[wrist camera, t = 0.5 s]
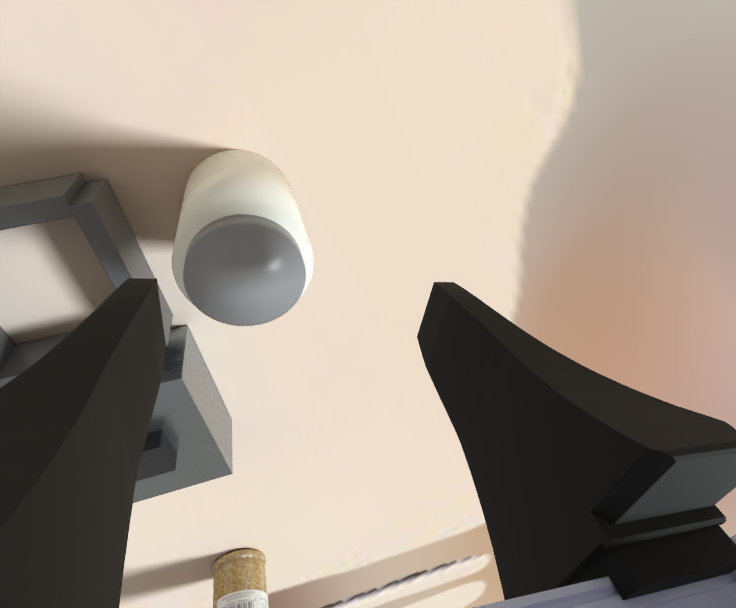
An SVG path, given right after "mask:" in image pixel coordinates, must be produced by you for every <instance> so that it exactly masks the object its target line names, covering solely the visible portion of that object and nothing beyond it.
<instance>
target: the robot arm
mask: <svg viewBox="0 0 736 608" xmlns="http://www.w3.org/2000/svg"><path fill="white" fill-rule="evenodd" d="M417 338H418V341H419V345H420V349H421V352H422V356H423V359H424V362H425V365H426V368H427V370H428V372H429V375H430V377H431V379H432V381H433V383H434V386H435V388H436V390H437V392H438V394H439V396H440V399H441V401H442V403H443V405H444V407H445V409H446V411H447V413H448V416H449V418H450V420H451V422H452V424H453V426H454V428H455V431H456V433H457V435H458V438H459V440H460V443H461V445H462V448H463V451H464V454H465V457H466V460H467V463H468V466H469V469H470V471H471V474H472V478H473V481H474V484H475V487H476V491H477V494H478V497H479V500H480V504H481V507H482V510H483V514H484V517H485V521H486V525H487V529H488V532H489V536H490V540H491V543H492V547H493V551H494V555H495V559H496V564H497V568H498V572H499V576H500V581H501V585H502V589H503V594H504V599H505V600H504V601H500V602H496V603H491V604H487V605H482V606H479V607H474V608H736V535H735V536H732V537H731V538H729V536H728V535H727V534H726V533H725V532H724V531H723V530H722V528H721V527H720V526H719V525H721V524H723V523H724V522H725V521H726V518H725V516H724V515H723V514H722V512H721V511H720V510H719V509H718V508H717V507H716V506H715V504H716V503H717V502H718V501H719V500H721V499H722V498H723V497H724V496H725V495H726V494H728V493H729V492H730V491H732V490H733V489H734V488H735V487H736V430H735V429H734V428H733V427H732V426H730V425H729V424H727V423H726V422H724V421H721V420H718V419H715V418H712V417H709V416H706V415H703V414H700V413H697V412H693V411H691V410H687V409H684V408H681V407H678V406H675V405H672V404H670V403H667V402H664V401H662V400H659V399H657V398H654V397H652V396H649V395H646V394H644V393H641V392H639V391H636V390H634V389H632V388H629V387H627V386H625V385H622V384H620V383H618V382H616V381H613V380H611V379H609V378H607V377H605V376H603V375H600V374H598V373H596V372H594V371H592V370H590V369H588V368H586V367H584V366H582V365H580V364H578V363H577V362H575V361H573V360H571V359H569V358H567V357H566V356H564V355H562V354H560V353H558V352H557V351H555V350H553V349H552V348H550V347H548V346H547V345H545V344H543V343H542V342H540V341H539V340H537V339H536V338H534V337H532V336H531V335H529V334H528V333H526V332H525V331H523V330H522V329H520V328H519V327H517V326H516V325H515V324H513V323H512V322H510V321H509V320H507V319H506V318H505V317H503V316H502V315H500V314H499V313H497V312H496V311H495V310H493V309H492V308H491V307H489V306H488V305H486V304H485V303H484V302H482V301H481V300H479V299H478V298H477V297H475V296H474V295H472V294H471V293H469V292H468V291H467V290H465V289H464V288H462V287H460V286H459V285H457V284H455V283H454V282H434V284H433V288H432V291H431V294H430V297H429V300H428V304H427V307H426V310H425V313H424V316H423V320H422V323H421V326H420V329H419V332H418V336H417ZM165 345H166V342H165V335H164V327H163V320H162V313H161V306H160V299H159V291H158V284H157V279H145V278H128V279H127V280H126V281H124V282H123V283H122V284H121V285H120V286H119V287H118V288H117V289H116V290H115V291H114V292H113V293H112V294H111V295H110V296H109V297H108V298H107V299H106V300H105V301H104V302H103V303H102V304H101V305H100V306H99V307H98V308H97V309H96V310H95V311H94V312H93V313H92V314H91V315H90V316H89V317H88V318H86V319H85V320H84V321H83V322H82V323H81V324H80V325H79V326H78V327H77V328H76V329H75V330H73V331H72V332H71V333H70V334H69V335H68V336H67V337H66V338H65V339H63V340H62V341H61V342H60V343H58V344H57V345H56V346H55V347H54V348H52V349H51V350H50V351H49V352H48V353H46V354H45V355H44V356H43V357H42V358H40V359H39V360H38V361H37V362H36V363H34V364H33V365H32V366H30V367H29V368H28V369H26V370H25V371H24V372H22V373H21V374H20V375H18V376H17V377H15V378H14V379H12V380H11V381H10V382H8V383H7V384H5V385H4V386H2V387H1V388H0V608H119V602H120V594H121V586H122V577H123V569H124V561H125V554H126V546H127V539H128V532H129V524H130V517H131V511H132V504H133V497H134V491H135V484H136V478H137V474H138V469H139V464H140V460H141V456H142V452H143V448H144V445H145V441H146V437H147V433H148V429H149V426H150V422H151V418H152V414H153V410H154V407H155V403H156V399H157V395H158V391H159V387H160V383H161V379H162V371H163V363H164V354H165Z"/></svg>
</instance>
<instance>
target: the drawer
mask: <svg viewBox="0 0 736 608" xmlns="http://www.w3.org/2000/svg"><path fill="white" fill-rule="evenodd" d="M230 474H232V419H231V417H230V415H229V413H228V411H227V409H226V406H225V404H224V402H223V400H222V398H221V396H220V394H219V391H218V389H217V387H216V385H215V383H214V381H213V379H212V377H211V374H210V372H209V370H208V368H207V366H206V364H205V362H204V359H203V357H202V355H201V353H200V351H199V349H198V347H197V345H196V342H195V340H194V338H193V336H192V334H191V332H190V330H189V327H188V325H187V326H182V327H178V328H174V329H170V335H169V341H168V346H166V347H165V354H164V363H163V371H162V379H161V383H160V387H159V391H158V395H157V399H156V403H155V407H154V410H153V414H152V418H151V422H150V426H149V429H148V433H147V437H146V441H145V445H144V448H143V452H142V456H141V460H140V464H139V469H138V474H137V478H136V484H135V491H134V497H133V503H135V502H138V501H142V500H145V499H148V498H152V497H155V496H159V495H162V494H165V493H169V492H172V491H176V490H179V489H182V488H186V487H189V486H192V485H196V484H199V483H203V482H206V481H209V480H213V479H216V478H220V477H223V476H226V475H230Z"/></svg>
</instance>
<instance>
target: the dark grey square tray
mask: <svg viewBox="0 0 736 608" xmlns="http://www.w3.org/2000/svg"><path fill="white" fill-rule="evenodd" d="M72 216H75V218H76V220H77V221H78V223H79V225H80V227H81V229H82V230H83V232H84V234H85V236H86V237H87V239H88V241H89V243H90V245H91V246H92V248H93V250H94V252H95V253H96V255H97V257H98V259H99V260H100V262H101V264H102V266H103V268H104V269H105V271H106V273H107V275H108V276H109V278H110V280H111V282H112V283H113V285H114V287H115V289H117V288H118V287H119V286H120V285H121V284H122V283H123V282H124V281H126V280H127V279H128V278H145V279H155V277H154V275H153V273H152V271H151V269H150V267H149V265H148V263H147V261H146V259H145V257H144V255H143V253H142V251H141V249H140V247H139V245H138V243H137V240H136V238H135V236H134V234H133V232H132V230H131V228H130V226H129V224H128V222H127V220H126V218H125V216H124V214H123V212H122V210H121V208H120V206H119V203H118V201H117V199H116V197H115V195H114V193H113V191H112V189H111V187H110V185H109V183H108V181H107V179H102V180H97V181H91V182H86V181H85V180H84V178H83V176H82V174H81V173H78V174H73V175H67V176H62V177H56V178H51V179H45V180H40V181H34V182H28V183H23V184H17V185H12V186H6V187H1V188H0V230H5V229H10V228H15V227H20V226H25V225H31V224H36V223H41V222H46V221H51V220H56V219H62V218H67V217H72ZM158 291H159V299H160V306H161V313H162V320H163V327H164V335H165V342H166V345H165V347H166V346H168V341H169V335H170V329H171V323H172V317H173V314H172V312H171V310H170V308H169V306H168V304H167V302H166V300H165V298H164V296H163V294H162V292H161V290H160V288H159V286H158ZM70 333H71V332H68V333H64V334H59V335H55V336H51V337H47V338H42V339H38V340H34V341H29V342H25V343H21V344H16V345H15V344H14V342H13V341H12V340H11V339H10V338H9V336H8V335H7V334H6V333H5V331H4V330H3V329H2V328H1V327H0V388H1V387H2V386H4V385H5V384H7V383H8V382H10V381H11V380H12V379H14V378H15V377H17V376H18V375H20V374H21V373H22V372H24V371H25V370H26V369H28V368H29V367H30V366H32V365H33V364H34V363H36V362H37V361H38V360H39V359H40V358H42V357H43V356H44V355H45V354H46V353H48V352H49V351H50V350H51V349H52V348H54V347H55V346H56V345H57V344H58V343H60V342H61V341H62V340H63V339H65V338H66V337H67V336H68V335H69V334H70Z"/></svg>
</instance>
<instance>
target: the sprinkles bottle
mask: <svg viewBox="0 0 736 608" xmlns="http://www.w3.org/2000/svg"><path fill="white" fill-rule="evenodd" d="M265 562H266V559H265V556H264V555H263V553H261V552H259V551H257V550H251V549H244V550H237V551H234V552H231V553H229V554H226V555H224V556H222V557H221V558H220V559H219V560H217V561H216V562H215V563H214V565H213V569H212V574H213V576H214V593H213V594H214V596H213V608H269V607H268V596H267V591H266V577H265Z"/></svg>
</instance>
